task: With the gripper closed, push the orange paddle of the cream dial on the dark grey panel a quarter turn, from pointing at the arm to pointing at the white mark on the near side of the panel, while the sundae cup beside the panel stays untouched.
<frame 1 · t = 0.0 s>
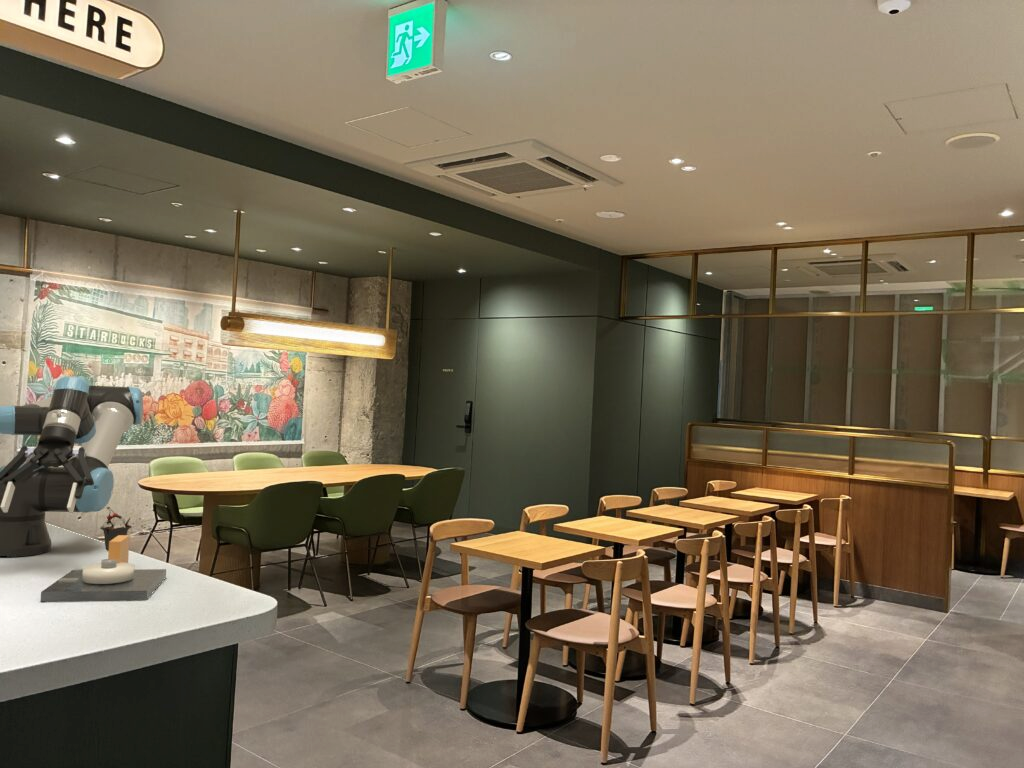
hand: (37, 510, 177), 15 cm above the worktop, tool tilted 35°, fingers open, 13 cm apart
panel: (107, 588, 169), on the worktop
sundae: (113, 568, 189), on the worktop
dial: (113, 558, 173), point 6 cm above the worktop, hinge at 0.0°
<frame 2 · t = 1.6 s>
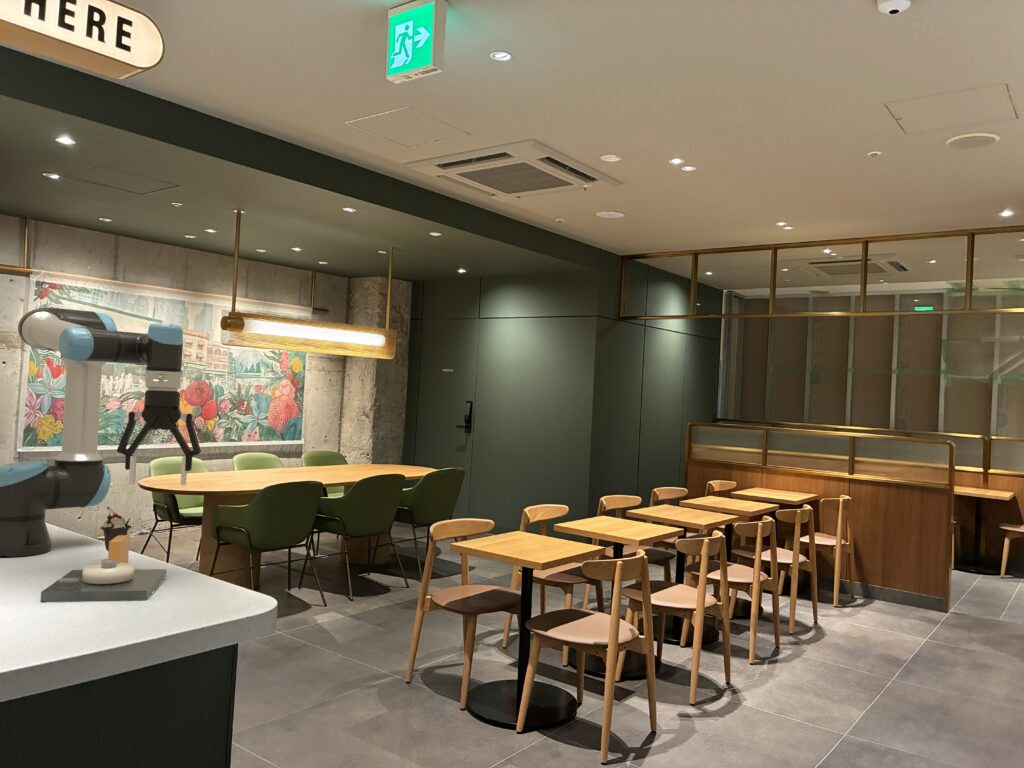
hand: (157, 484, 180), 22 cm above the worktop, tool pointing down, fingers open, 10 cm apart
nothing on the worktop moved.
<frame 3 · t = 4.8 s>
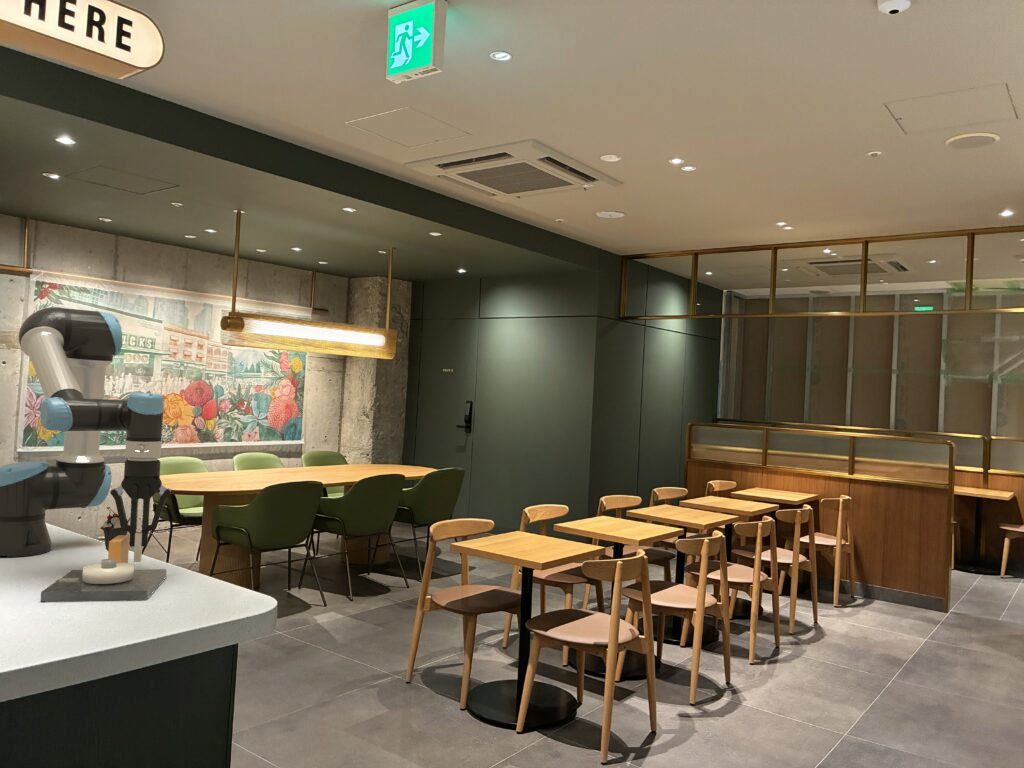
hand: (137, 560, 179), 4 cm above the worktop, tool pointing down, fingers closed
dial: (113, 558, 173), point 6 cm above the worktop, hinge at 0.1°, touching gripper
everything else where it was.
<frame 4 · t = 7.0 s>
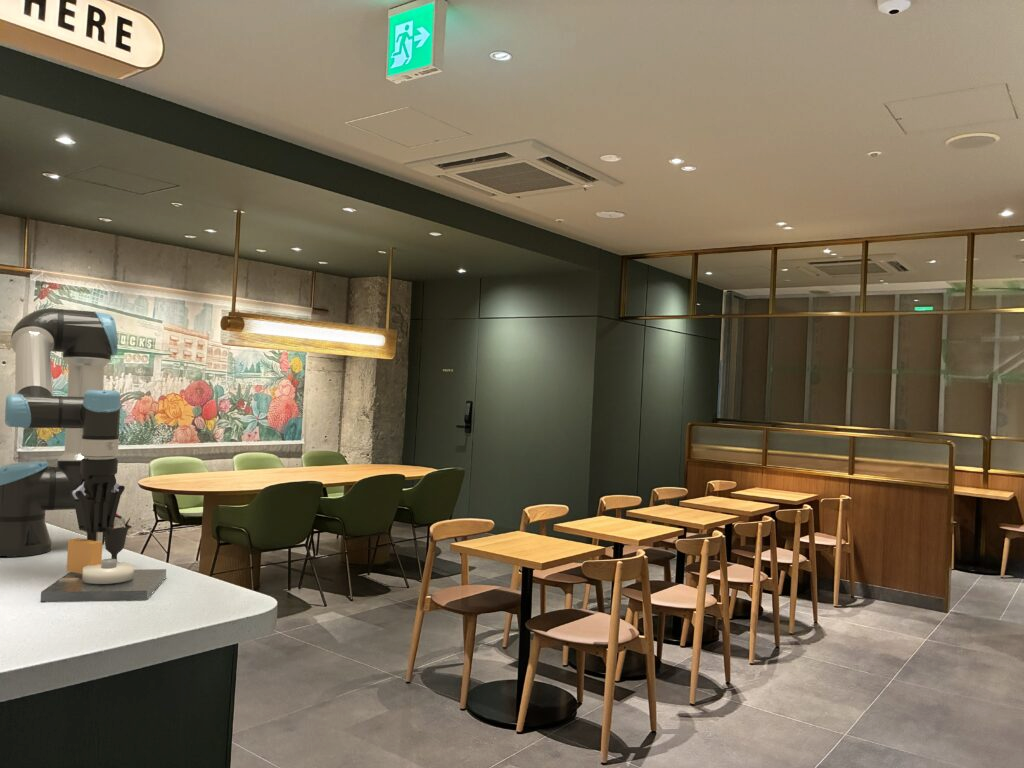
hand: (94, 560, 176), 4 cm above the worktop, tool pointing down, fingers closed
dial: (98, 559, 171), point 6 cm above the worktop, hinge at 52.1°, touching gripper
everything else where it was.
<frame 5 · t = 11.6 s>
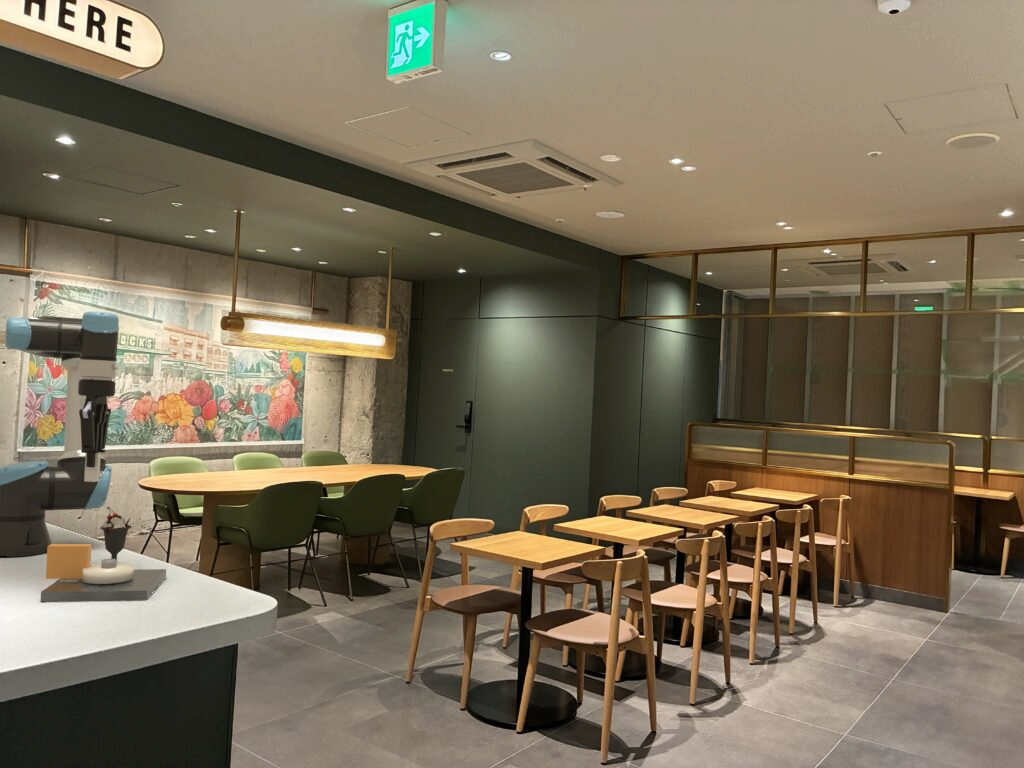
hand: (91, 481, 178), 22 cm above the worktop, tool pointing down, fingers closed
dial: (91, 561, 168), point 6 cm above the worktop, hinge at 89.6°
everything else where it was.
at the end: dial at +90° (first picture: +0°); sundae moved 0.2 cm from its start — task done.
